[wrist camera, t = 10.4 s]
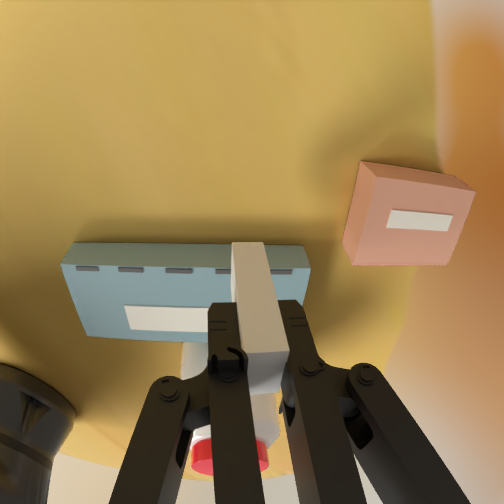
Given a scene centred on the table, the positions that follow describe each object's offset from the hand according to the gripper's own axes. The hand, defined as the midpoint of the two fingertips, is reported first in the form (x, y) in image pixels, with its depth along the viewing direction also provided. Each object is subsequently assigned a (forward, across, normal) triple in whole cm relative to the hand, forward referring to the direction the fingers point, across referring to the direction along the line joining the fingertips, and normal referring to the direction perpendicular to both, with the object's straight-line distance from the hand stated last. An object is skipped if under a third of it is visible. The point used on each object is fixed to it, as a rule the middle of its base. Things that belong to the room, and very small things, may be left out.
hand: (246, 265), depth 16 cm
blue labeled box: (+5, -4, -5) cm, 8 cm away
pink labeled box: (+5, +11, +1) cm, 12 cm away
